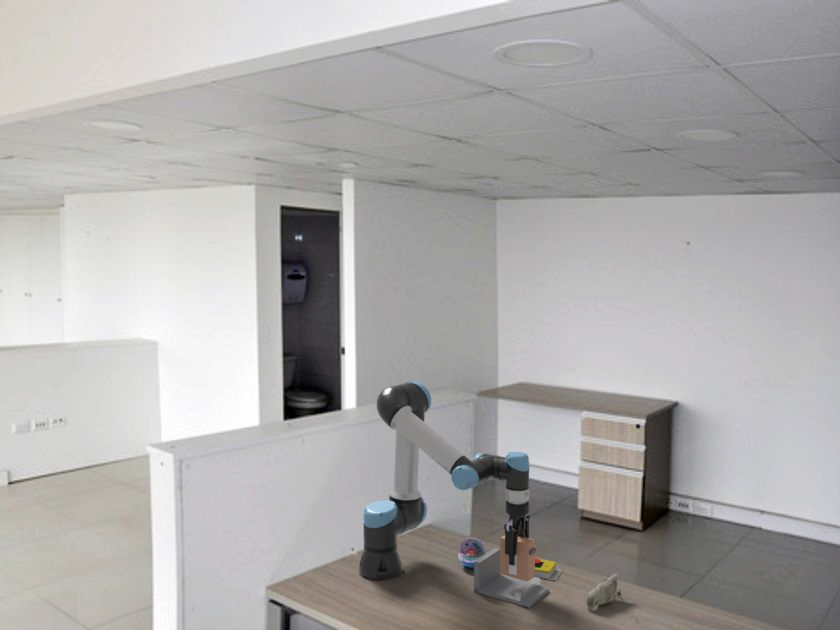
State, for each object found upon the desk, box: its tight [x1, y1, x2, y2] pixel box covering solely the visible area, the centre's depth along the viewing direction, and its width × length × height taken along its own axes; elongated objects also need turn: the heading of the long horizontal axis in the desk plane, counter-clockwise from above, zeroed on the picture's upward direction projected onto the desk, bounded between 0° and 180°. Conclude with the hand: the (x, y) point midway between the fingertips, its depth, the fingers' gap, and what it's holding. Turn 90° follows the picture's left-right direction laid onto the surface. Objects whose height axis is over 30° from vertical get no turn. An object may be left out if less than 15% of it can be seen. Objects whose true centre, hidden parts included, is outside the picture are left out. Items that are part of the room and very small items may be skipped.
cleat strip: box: [515, 577, 541, 601], centre depth 236 cm, size 2×14×2 cm, turn 145°
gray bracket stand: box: [473, 547, 549, 608], centre depth 239 cm, size 20×14×10 cm
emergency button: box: [533, 557, 562, 581], centre depth 255 cm, size 9×4×15 cm
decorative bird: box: [586, 573, 623, 612], centre depth 231 cm, size 5×16×7 cm, turn 134°
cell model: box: [457, 537, 488, 569], centre depth 259 cm, size 10×12×10 cm
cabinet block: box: [499, 534, 537, 582], centre depth 237 cm, size 11×5×12 cm, turn 55°
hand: (517, 570), depth 238 cm, fingers closed on cabinet block, 5 cm apart
